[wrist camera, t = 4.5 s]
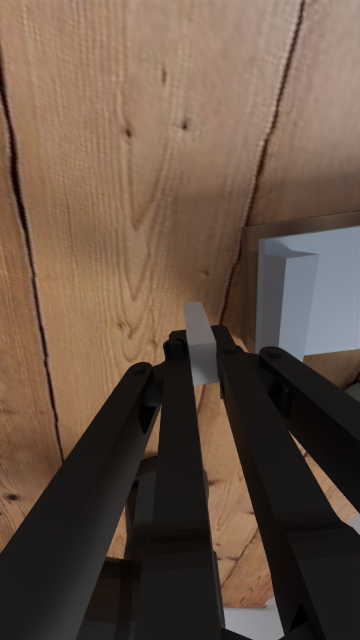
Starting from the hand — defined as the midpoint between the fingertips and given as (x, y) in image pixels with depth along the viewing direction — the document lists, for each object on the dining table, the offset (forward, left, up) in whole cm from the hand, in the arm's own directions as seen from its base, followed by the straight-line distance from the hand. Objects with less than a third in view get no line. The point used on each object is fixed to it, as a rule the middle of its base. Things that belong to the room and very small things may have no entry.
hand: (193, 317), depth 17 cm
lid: (+15, 0, -2) cm, 15 cm away
